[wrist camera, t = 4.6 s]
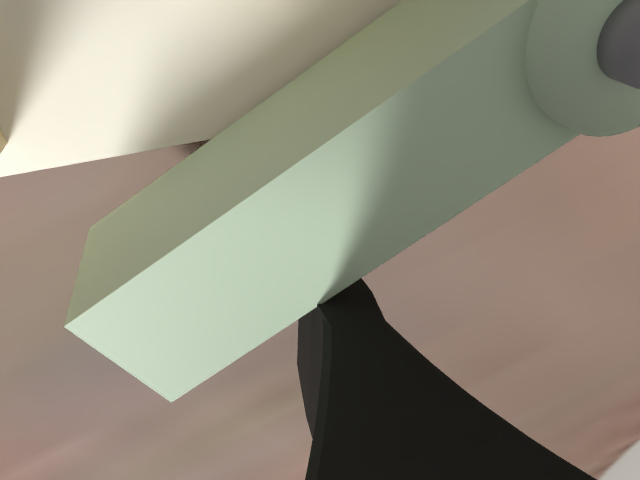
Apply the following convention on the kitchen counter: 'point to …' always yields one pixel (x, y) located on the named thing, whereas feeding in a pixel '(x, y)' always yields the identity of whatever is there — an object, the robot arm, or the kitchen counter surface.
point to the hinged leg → (346, 174)
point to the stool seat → (151, 69)
